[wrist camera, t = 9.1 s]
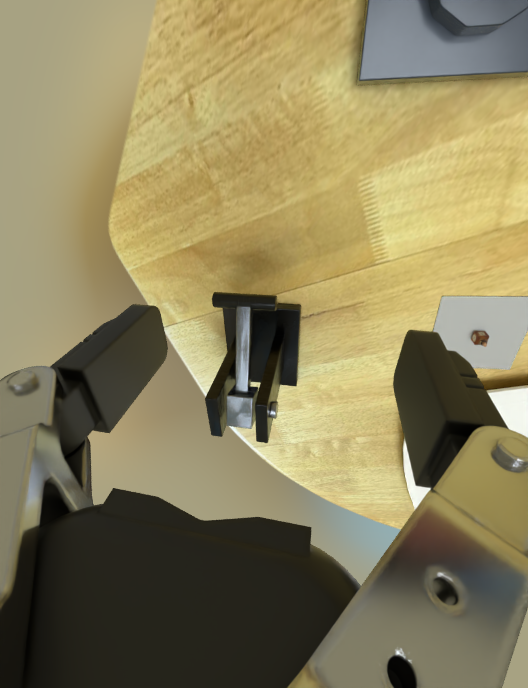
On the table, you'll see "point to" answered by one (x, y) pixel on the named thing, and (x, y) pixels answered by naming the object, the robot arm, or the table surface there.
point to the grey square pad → (483, 328)
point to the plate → (514, 407)
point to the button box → (443, 41)
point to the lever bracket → (258, 365)
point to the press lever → (243, 354)
